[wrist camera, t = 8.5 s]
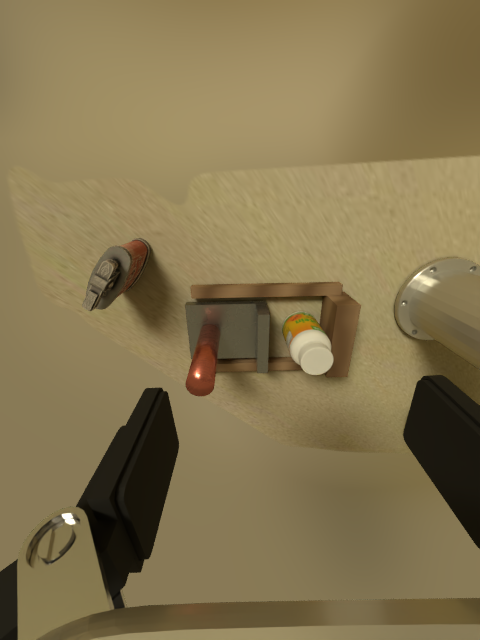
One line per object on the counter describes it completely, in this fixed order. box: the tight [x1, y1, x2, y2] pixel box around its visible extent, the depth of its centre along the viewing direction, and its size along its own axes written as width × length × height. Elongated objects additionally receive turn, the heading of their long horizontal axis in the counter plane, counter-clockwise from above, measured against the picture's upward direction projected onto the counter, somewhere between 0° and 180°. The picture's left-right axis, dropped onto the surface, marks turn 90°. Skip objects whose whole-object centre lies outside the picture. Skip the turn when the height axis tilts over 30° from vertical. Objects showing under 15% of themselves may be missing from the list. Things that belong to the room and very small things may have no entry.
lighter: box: [82, 238, 151, 311], centre depth 31 cm, size 8×3×10 cm, turn 145°
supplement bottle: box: [282, 311, 333, 375], centre depth 35 cm, size 5×5×10 cm
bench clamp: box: [191, 282, 361, 377], centre depth 37 cm, size 22×14×6 cm, turn 91°
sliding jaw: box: [185, 301, 270, 396], centre depth 33 cm, size 12×9×13 cm
